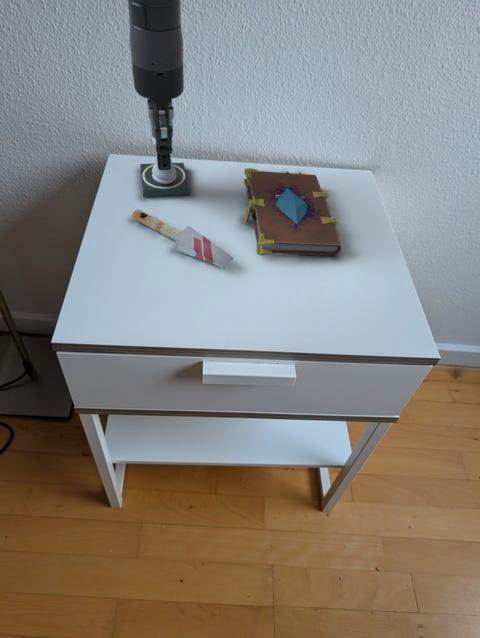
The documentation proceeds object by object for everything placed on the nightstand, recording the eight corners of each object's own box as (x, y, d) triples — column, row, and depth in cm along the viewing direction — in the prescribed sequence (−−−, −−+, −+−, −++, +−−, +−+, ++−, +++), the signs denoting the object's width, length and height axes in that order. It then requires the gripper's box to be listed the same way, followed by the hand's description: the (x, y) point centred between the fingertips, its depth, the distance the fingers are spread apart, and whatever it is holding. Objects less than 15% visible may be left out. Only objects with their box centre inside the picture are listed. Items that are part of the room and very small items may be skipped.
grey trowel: (222, 263, 66) (127, 213, 72) (222, 275, 68) (129, 225, 75) (237, 249, 68) (143, 202, 75) (236, 262, 70) (145, 214, 77)
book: (310, 177, 89) (317, 155, 85) (338, 262, 74) (348, 240, 70) (232, 171, 86) (236, 149, 82) (246, 259, 71) (251, 236, 67)
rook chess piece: (163, 167, 80) (161, 126, 74) (181, 177, 79) (181, 136, 73) (147, 177, 78) (143, 136, 72) (165, 188, 77) (163, 146, 70)
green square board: (143, 197, 79) (142, 189, 78) (140, 170, 84) (140, 163, 82) (188, 195, 80) (188, 187, 79) (183, 169, 85) (183, 161, 84)
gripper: (129, 37, 66) (139, 141, 80) (133, 79, 58) (144, 187, 71) (178, 38, 67) (180, 140, 81) (188, 79, 59) (189, 185, 73)
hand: (163, 162), depth 76 cm, fingers closed on rook chess piece, 3 cm apart
